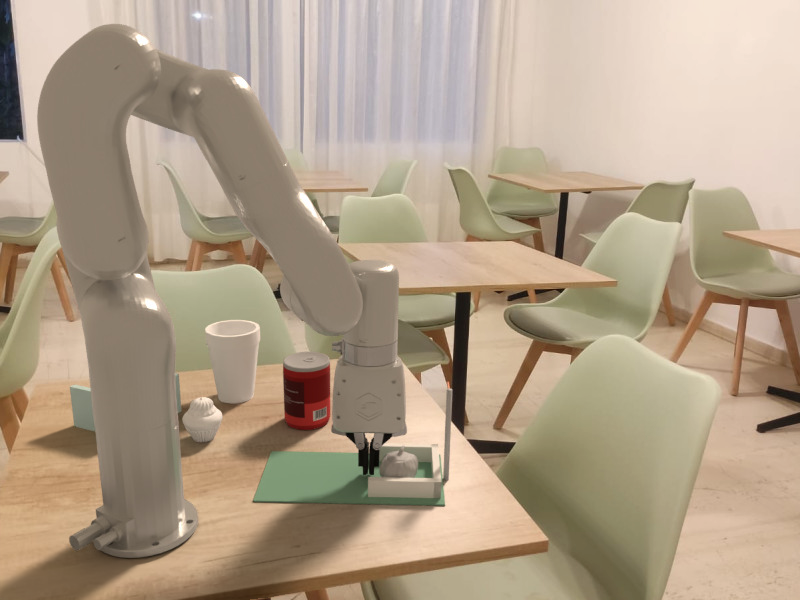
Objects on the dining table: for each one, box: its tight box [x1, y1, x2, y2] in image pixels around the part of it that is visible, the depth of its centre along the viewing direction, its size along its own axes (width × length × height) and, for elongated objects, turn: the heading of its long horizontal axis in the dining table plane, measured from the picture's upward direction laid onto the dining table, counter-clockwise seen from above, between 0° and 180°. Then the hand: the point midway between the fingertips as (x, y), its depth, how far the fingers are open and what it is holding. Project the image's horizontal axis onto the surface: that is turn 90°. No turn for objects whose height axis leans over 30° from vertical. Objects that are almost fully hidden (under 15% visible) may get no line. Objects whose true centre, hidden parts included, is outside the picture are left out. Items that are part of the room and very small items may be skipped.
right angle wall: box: [69, 372, 182, 432], centre depth 122 cm, size 12×12×8 cm
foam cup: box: [204, 319, 261, 404], centre depth 131 cm, size 10×9×13 cm
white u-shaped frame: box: [368, 381, 453, 498], centre depth 104 cm, size 11×11×14 cm
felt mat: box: [252, 450, 446, 507], centre depth 106 cm, size 26×14×1 cm, turn 90°
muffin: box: [181, 396, 224, 443], centre depth 116 cm, size 6×6×7 cm
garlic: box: [379, 445, 418, 478], centre depth 104 cm, size 6×5×5 cm
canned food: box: [282, 351, 331, 431], centre depth 122 cm, size 8×8×11 cm
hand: (368, 470), depth 106 cm, fingers closed
